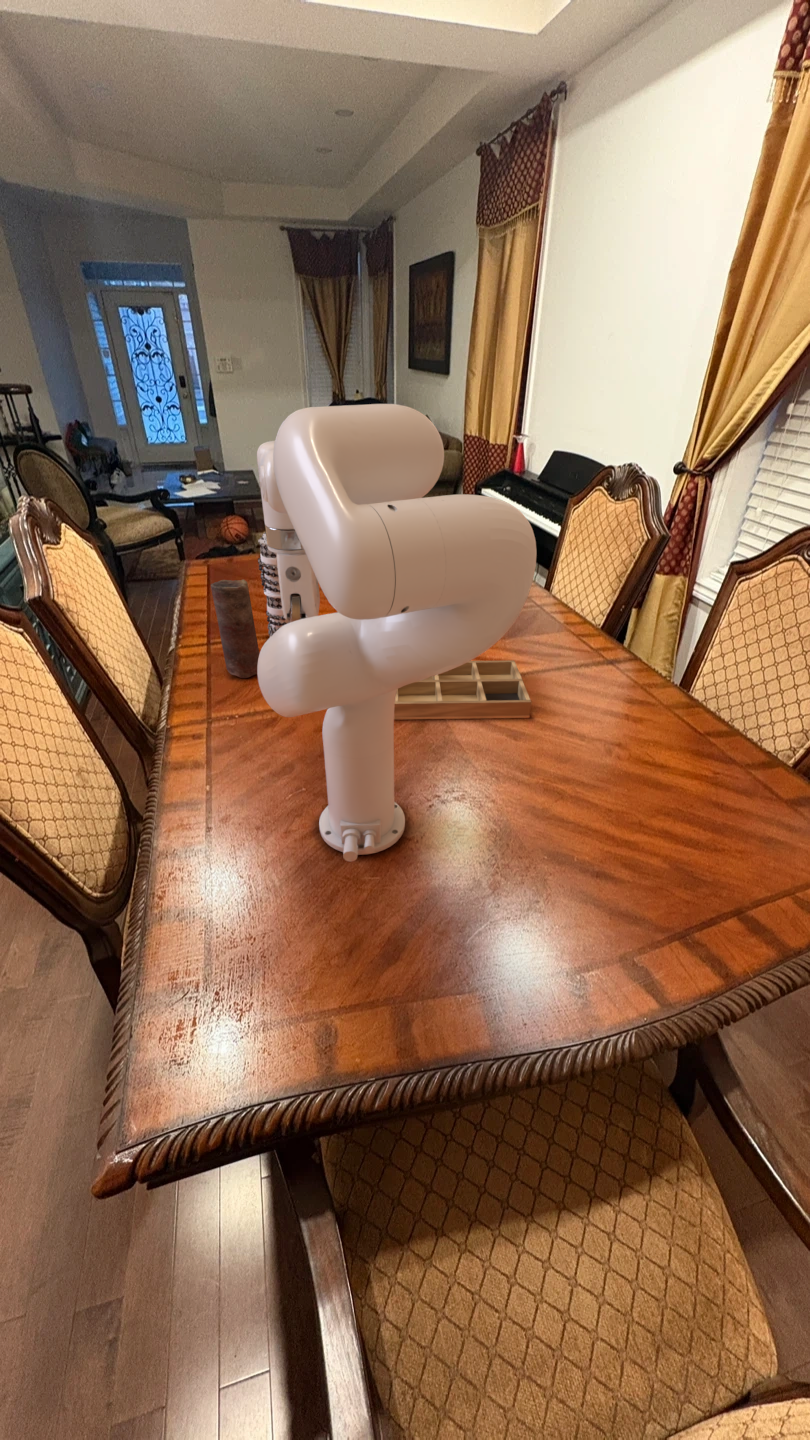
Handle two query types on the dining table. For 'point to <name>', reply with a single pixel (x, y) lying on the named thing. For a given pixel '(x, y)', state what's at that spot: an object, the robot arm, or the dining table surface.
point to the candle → (236, 626)
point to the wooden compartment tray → (466, 693)
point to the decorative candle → (271, 587)
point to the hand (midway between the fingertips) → (304, 651)
